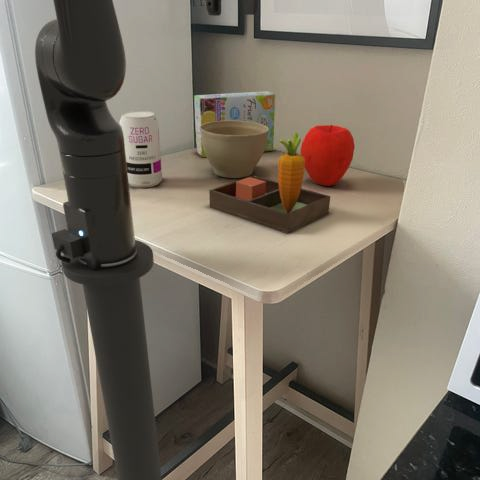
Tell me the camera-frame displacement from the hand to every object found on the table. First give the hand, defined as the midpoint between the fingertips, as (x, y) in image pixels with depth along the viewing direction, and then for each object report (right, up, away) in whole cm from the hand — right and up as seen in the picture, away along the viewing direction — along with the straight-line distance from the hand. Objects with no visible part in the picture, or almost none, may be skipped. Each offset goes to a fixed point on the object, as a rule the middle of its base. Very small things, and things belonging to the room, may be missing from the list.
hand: (232, 15), depth 79 cm
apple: (+21, -17, +37) cm, 46 cm away
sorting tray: (+7, -26, +22) cm, 35 cm away
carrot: (+11, -28, +19) cm, 35 cm away
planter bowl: (0, -13, +43) cm, 45 cm away
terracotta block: (+3, -24, +24) cm, 34 cm away
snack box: (0, -2, +60) cm, 60 cm away
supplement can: (-21, -17, +36) cm, 45 cm away
